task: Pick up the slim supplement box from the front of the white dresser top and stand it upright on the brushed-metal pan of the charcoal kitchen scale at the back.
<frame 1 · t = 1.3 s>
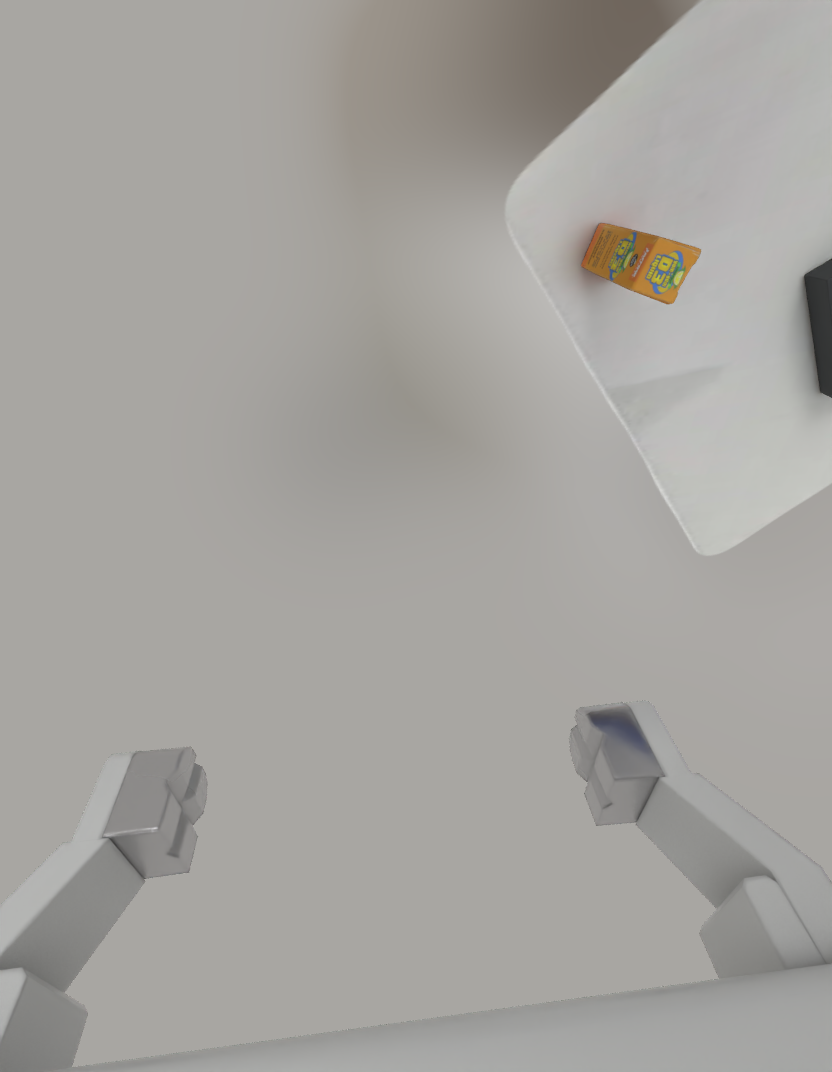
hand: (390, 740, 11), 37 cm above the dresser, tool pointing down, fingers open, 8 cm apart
supplement box: (603, 250, 39), on the dresser
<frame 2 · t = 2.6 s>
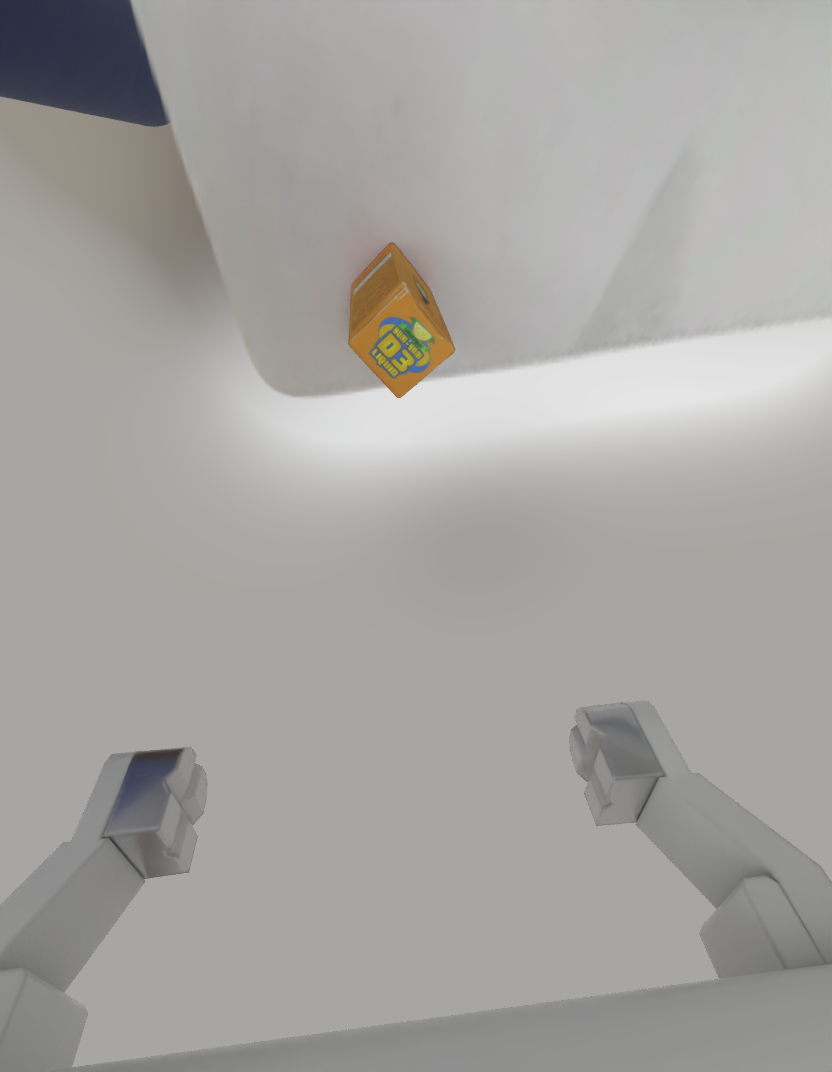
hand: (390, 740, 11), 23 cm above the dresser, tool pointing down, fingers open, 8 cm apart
supplement box: (388, 290, 27), on the dresser
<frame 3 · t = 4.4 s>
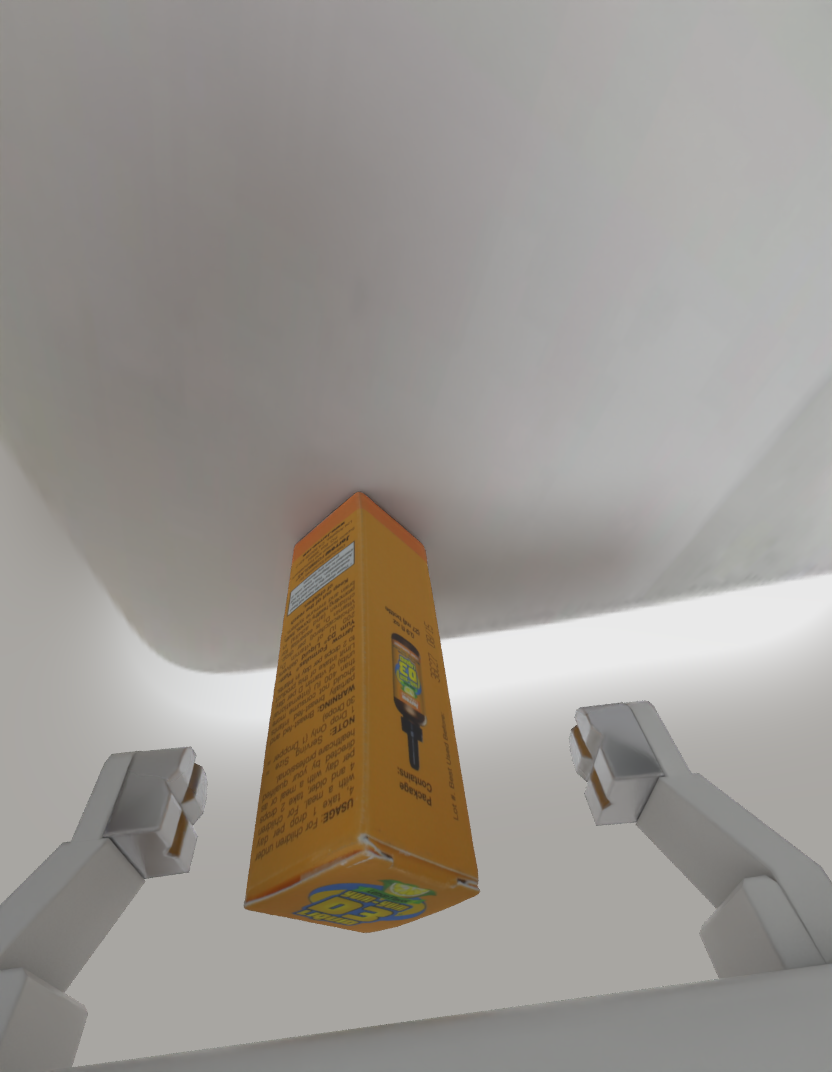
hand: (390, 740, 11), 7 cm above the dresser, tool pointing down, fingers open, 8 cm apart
supplement box: (357, 543, 17), on the dresser
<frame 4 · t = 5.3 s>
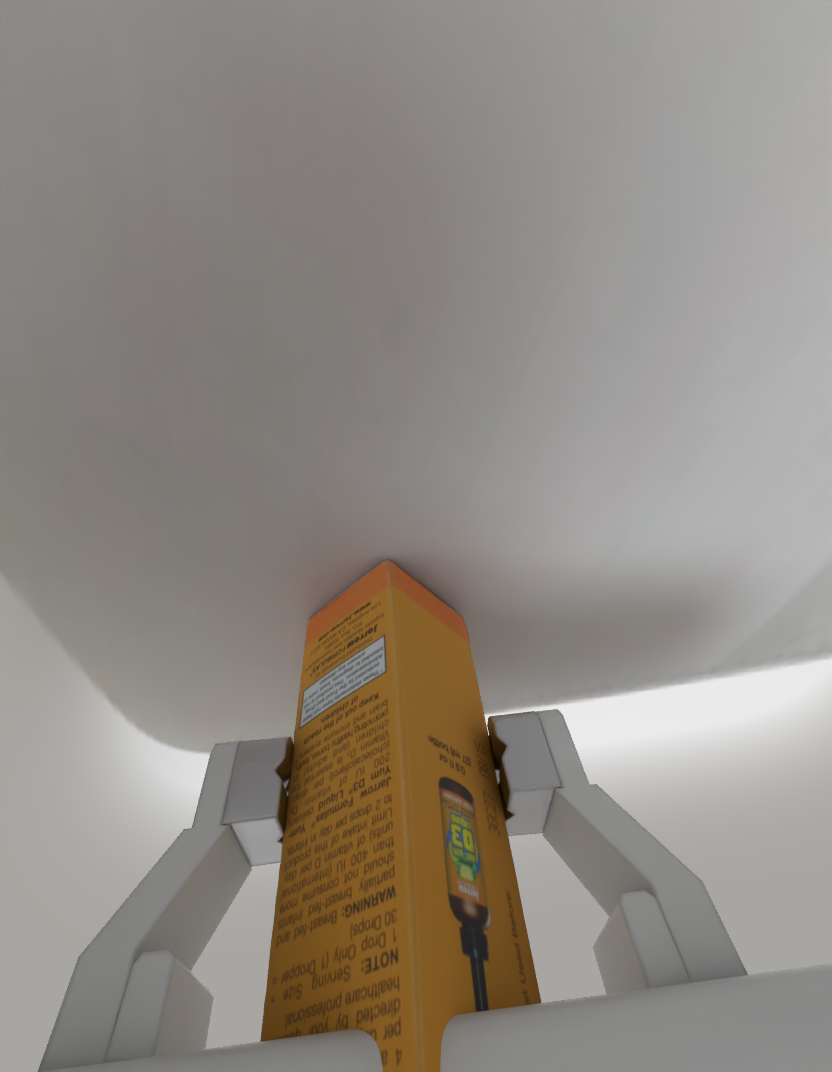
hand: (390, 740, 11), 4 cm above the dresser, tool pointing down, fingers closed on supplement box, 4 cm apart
supplement box: (383, 614, 14), on the dresser, touching gripper
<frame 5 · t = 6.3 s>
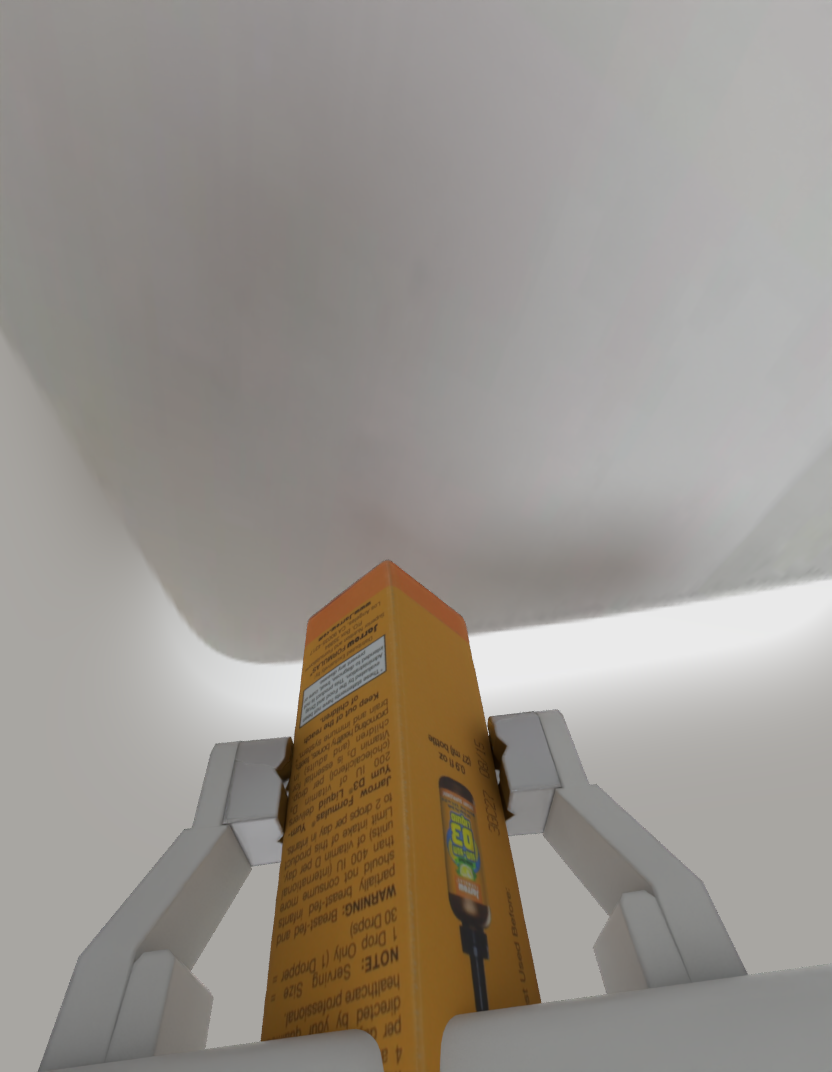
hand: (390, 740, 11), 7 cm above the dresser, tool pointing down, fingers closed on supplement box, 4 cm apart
supplement box: (383, 614, 14), point 3 cm above the dresser, touching gripper
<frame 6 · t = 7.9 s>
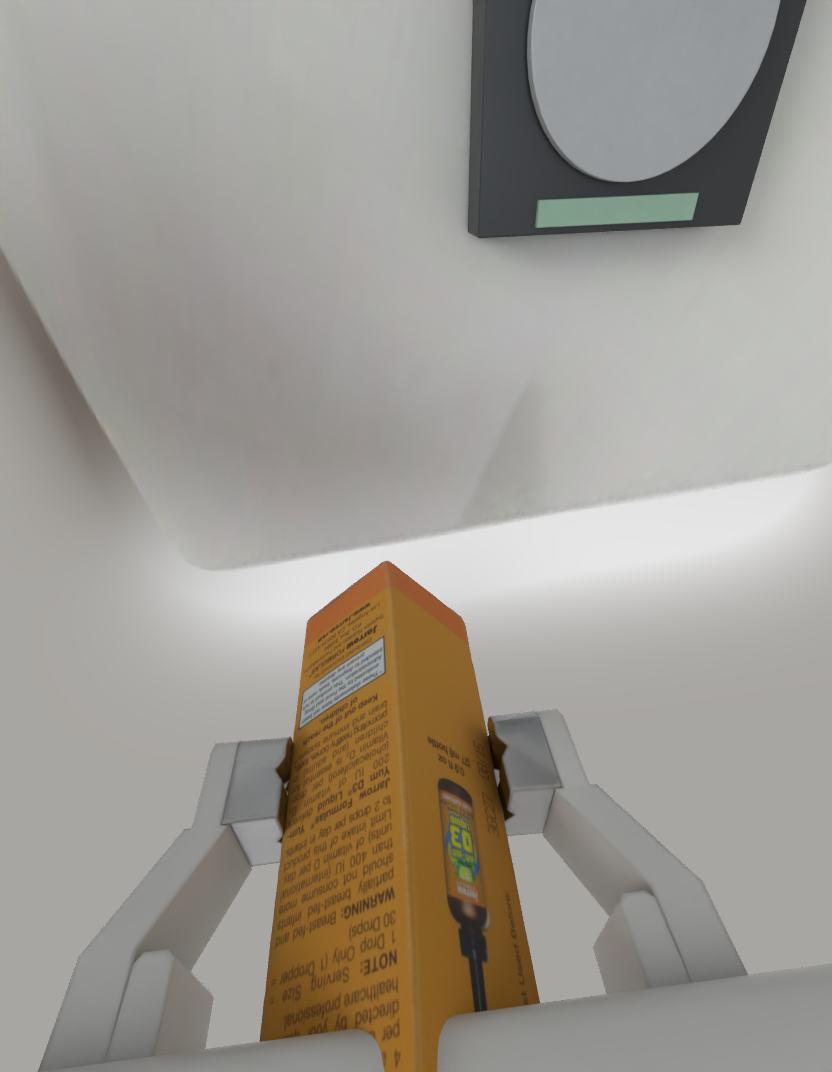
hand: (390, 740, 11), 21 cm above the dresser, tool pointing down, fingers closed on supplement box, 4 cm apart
supplement box: (382, 615, 14), point 18 cm above the dresser, touching gripper
kitchen scale: (612, 72, 21), on the dresser
when the fingers open (7 cm above the dresser, at t = 11.9 s): supplement box stays where it is, resting on kitchen scale.
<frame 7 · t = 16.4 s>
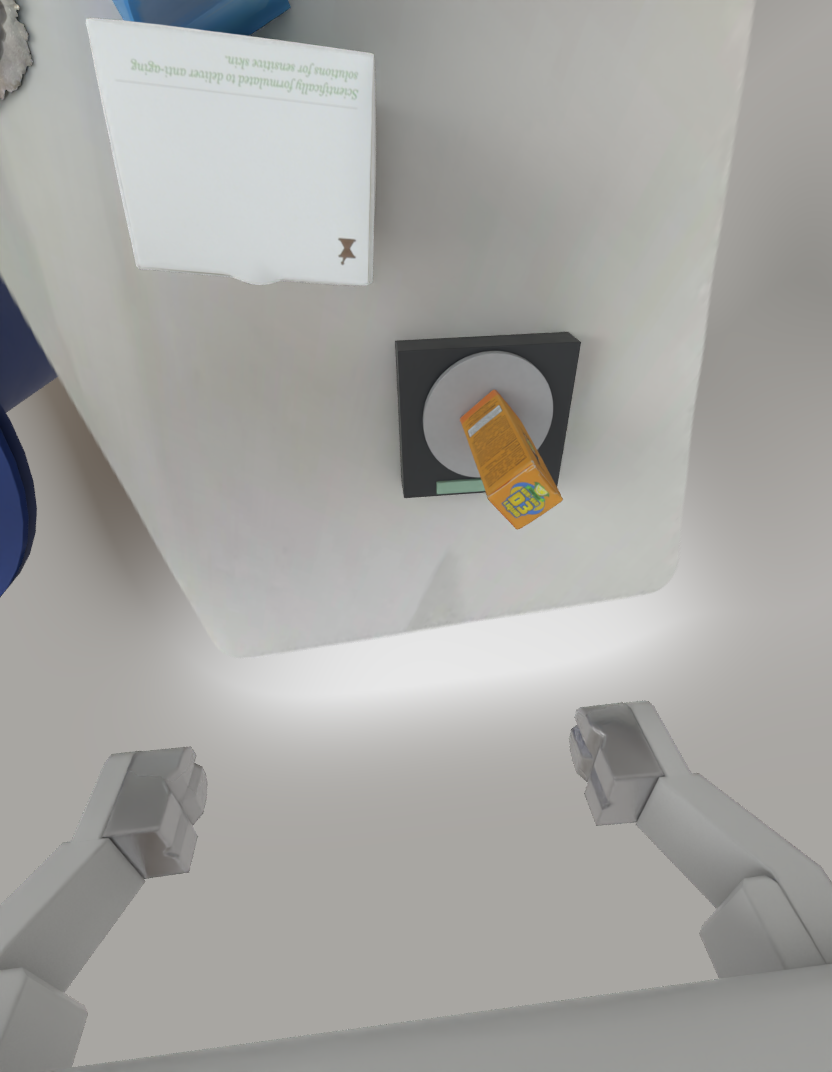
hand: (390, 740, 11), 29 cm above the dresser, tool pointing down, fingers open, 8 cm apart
supplement box: (487, 419, 35), point 3 cm above the dresser, touching kitchen scale
kitchen scale: (478, 412, 38), on the dresser
cosmetic box: (297, 168, 28), on the dresser
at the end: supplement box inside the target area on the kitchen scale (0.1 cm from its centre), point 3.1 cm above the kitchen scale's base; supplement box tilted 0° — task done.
